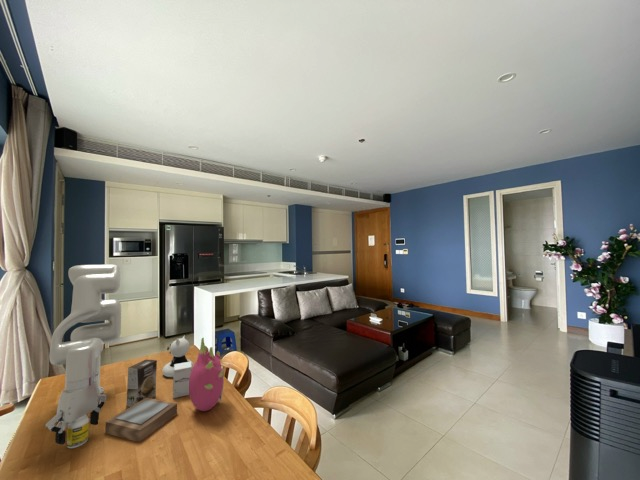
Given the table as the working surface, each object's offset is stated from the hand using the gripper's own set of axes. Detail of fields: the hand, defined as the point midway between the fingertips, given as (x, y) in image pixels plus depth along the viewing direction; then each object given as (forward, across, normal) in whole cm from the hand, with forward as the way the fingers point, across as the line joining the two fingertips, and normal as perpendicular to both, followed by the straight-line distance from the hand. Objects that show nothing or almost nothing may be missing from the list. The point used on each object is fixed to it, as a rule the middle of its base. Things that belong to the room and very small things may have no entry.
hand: (78, 433), depth 88 cm
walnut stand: (+3, -14, +12) cm, 19 cm away
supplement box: (+3, -35, +10) cm, 37 cm away
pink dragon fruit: (+4, -28, +29) cm, 41 cm away
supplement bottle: (+4, 0, 0) cm, 4 cm away
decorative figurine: (+3, -51, -8) cm, 52 cm away
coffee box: (+3, -25, -2) cm, 26 cm away
